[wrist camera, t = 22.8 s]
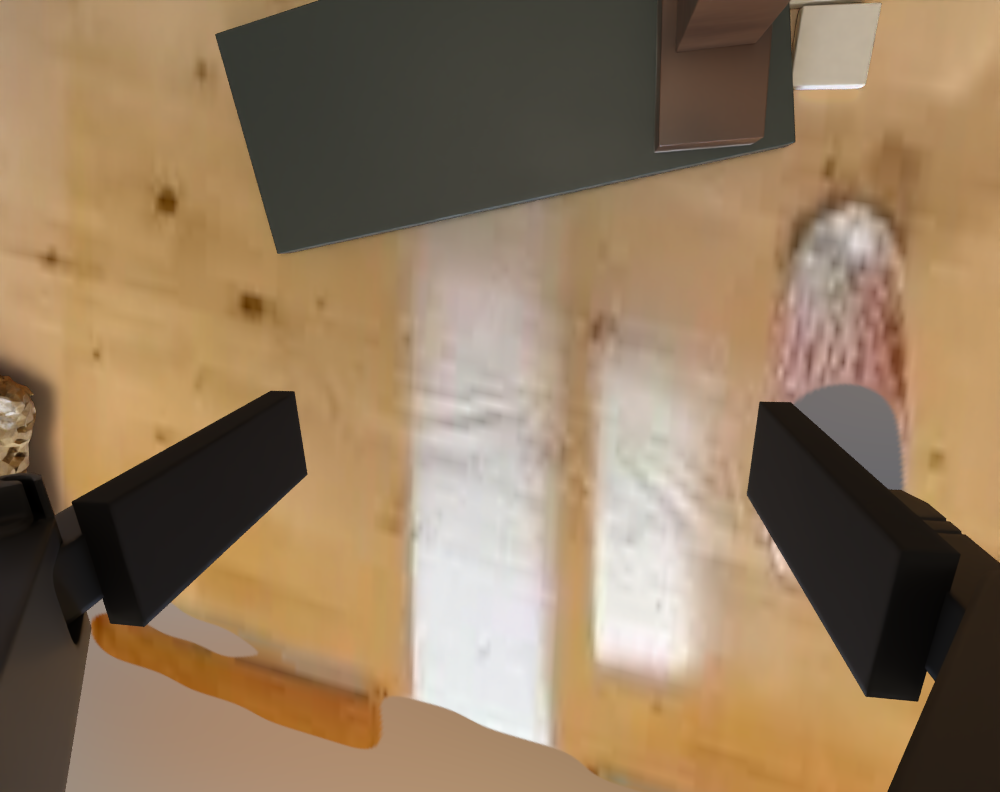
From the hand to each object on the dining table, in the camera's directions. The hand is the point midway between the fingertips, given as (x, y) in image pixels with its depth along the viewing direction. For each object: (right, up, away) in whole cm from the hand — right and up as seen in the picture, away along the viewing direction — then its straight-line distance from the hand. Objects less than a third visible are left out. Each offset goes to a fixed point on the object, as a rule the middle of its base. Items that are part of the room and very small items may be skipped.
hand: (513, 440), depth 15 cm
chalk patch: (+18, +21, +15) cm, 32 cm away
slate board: (-1, +21, +19) cm, 28 cm away
